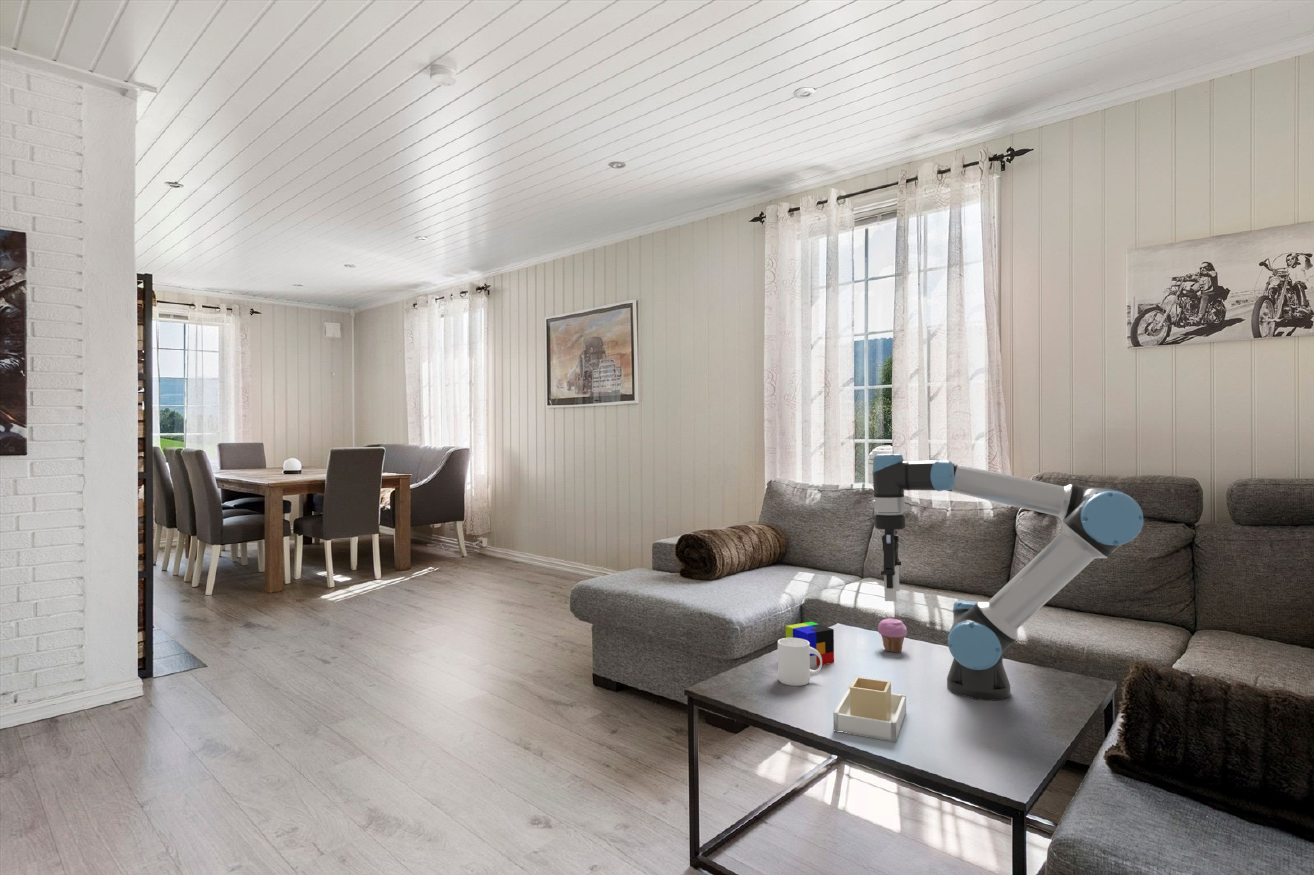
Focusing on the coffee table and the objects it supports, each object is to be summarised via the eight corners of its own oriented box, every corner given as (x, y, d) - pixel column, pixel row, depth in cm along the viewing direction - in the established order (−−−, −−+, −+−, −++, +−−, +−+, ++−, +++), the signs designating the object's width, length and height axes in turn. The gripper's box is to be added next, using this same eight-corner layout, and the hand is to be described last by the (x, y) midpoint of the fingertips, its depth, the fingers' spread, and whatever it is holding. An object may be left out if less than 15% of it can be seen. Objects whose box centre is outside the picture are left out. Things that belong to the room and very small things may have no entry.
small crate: (891, 715, 163) (890, 681, 163) (886, 728, 156) (886, 692, 156) (856, 710, 166) (856, 676, 166) (850, 722, 159) (849, 687, 159)
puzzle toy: (807, 668, 200) (807, 633, 200) (786, 658, 209) (785, 625, 209) (834, 663, 204) (833, 629, 204) (811, 654, 213) (811, 621, 213)
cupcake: (910, 655, 211) (909, 622, 211) (881, 654, 212) (880, 621, 212) (903, 646, 220) (903, 615, 220) (875, 646, 221) (875, 614, 221)
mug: (824, 687, 184) (824, 647, 184) (779, 686, 185) (779, 646, 185) (819, 676, 192) (819, 638, 192) (776, 675, 193) (776, 637, 193)
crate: (906, 712, 166) (905, 694, 166) (895, 742, 149) (895, 723, 149) (849, 703, 172) (849, 686, 172) (833, 731, 155) (833, 712, 155)
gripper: (878, 509, 191) (881, 585, 191) (869, 517, 168) (872, 605, 168) (907, 509, 189) (909, 587, 188) (902, 518, 166) (905, 606, 165)
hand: (892, 595), depth 178 cm, fingers open, 13 cm apart
